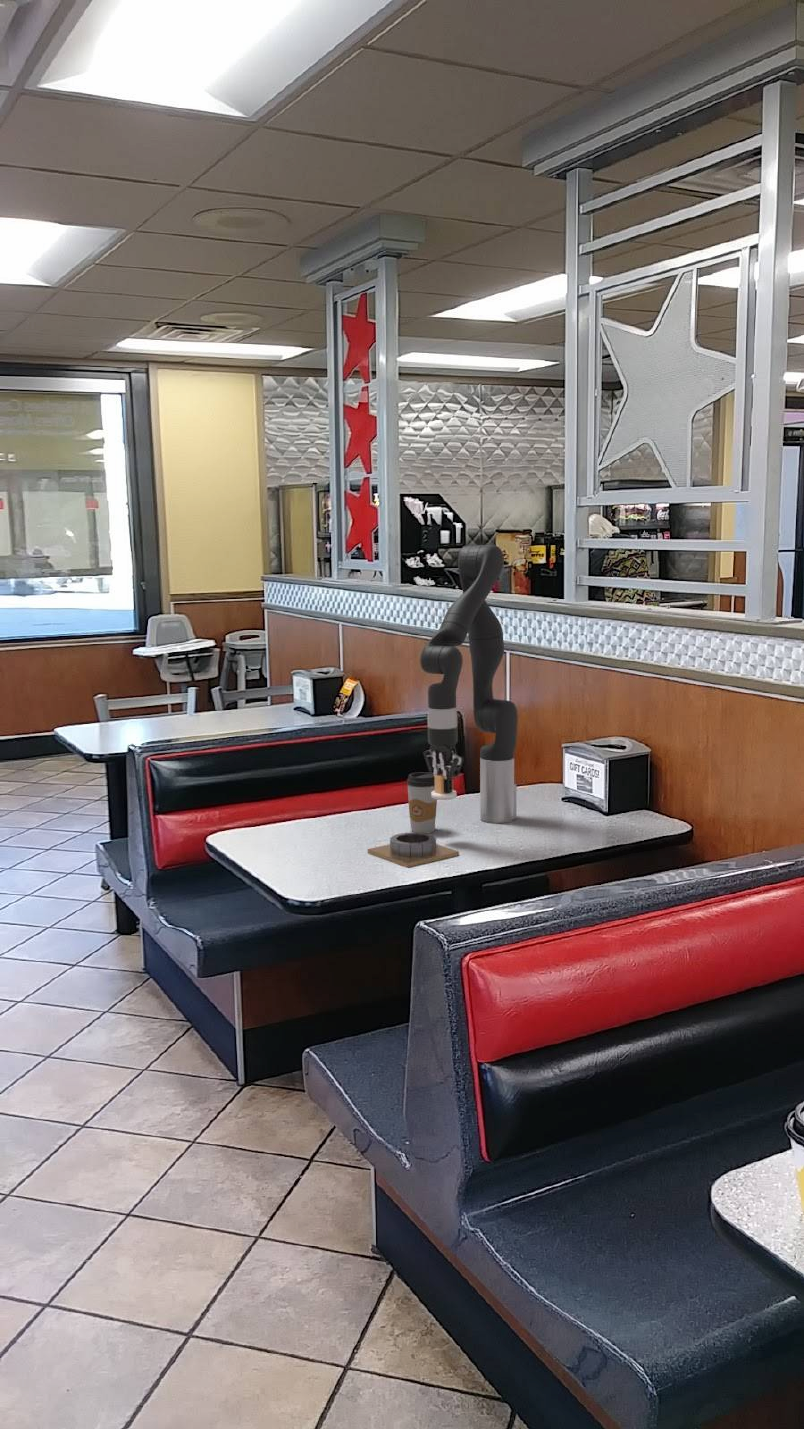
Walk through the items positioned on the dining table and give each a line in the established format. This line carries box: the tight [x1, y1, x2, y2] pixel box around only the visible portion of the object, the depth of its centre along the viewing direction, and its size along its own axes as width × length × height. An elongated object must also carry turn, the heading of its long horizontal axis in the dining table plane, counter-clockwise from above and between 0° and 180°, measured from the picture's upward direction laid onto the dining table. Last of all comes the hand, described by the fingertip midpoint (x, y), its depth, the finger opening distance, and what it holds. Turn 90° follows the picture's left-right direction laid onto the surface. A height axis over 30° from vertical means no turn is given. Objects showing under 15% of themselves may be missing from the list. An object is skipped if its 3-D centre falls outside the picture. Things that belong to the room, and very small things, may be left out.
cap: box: [431, 774, 457, 801], centre depth 283 cm, size 6×6×6 cm
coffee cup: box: [406, 771, 438, 834], centre depth 295 cm, size 8×8×15 cm
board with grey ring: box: [367, 831, 460, 868], centre depth 274 cm, size 16×16×4 cm
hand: (443, 791), depth 283 cm, fingers closed on cap, 2 cm apart
